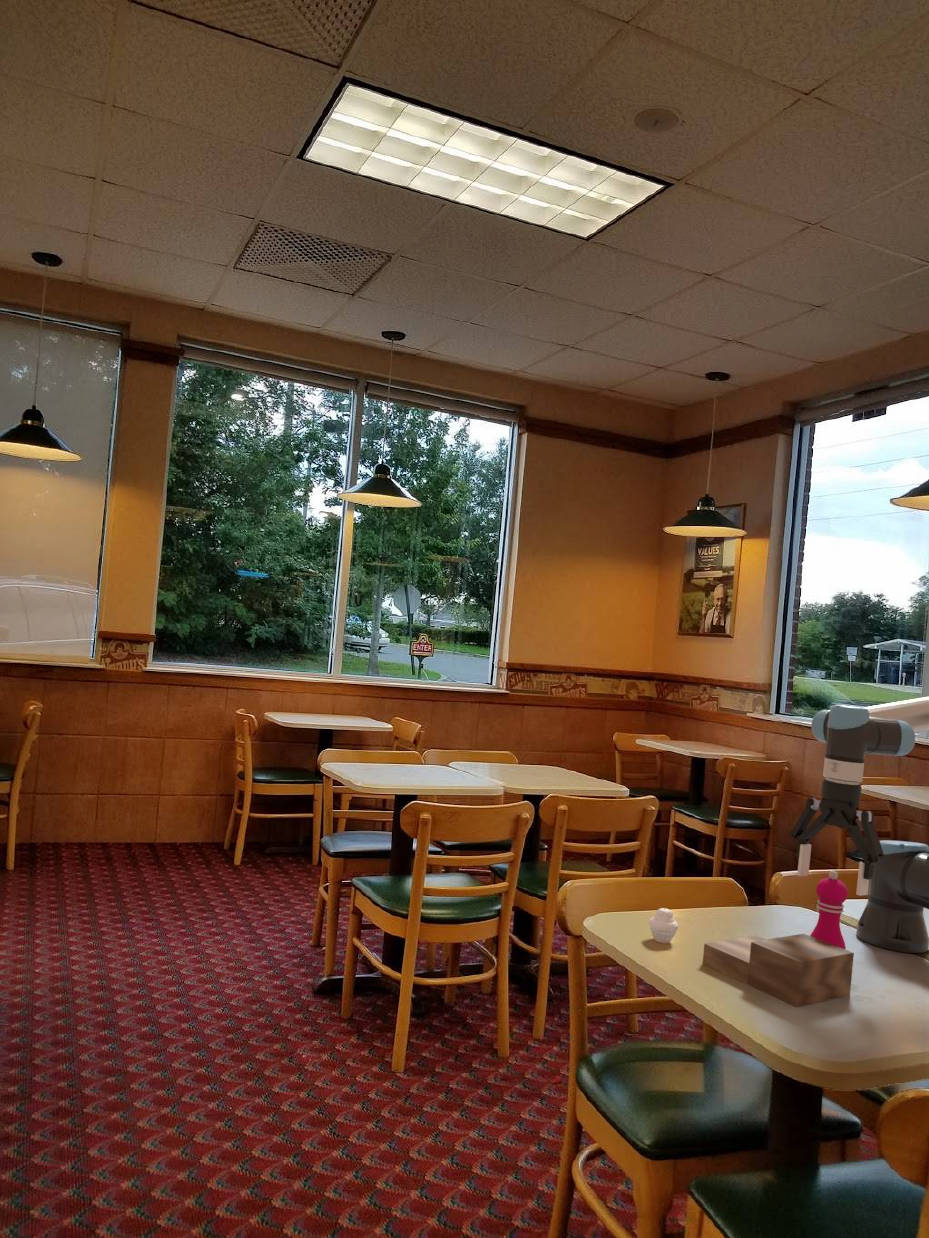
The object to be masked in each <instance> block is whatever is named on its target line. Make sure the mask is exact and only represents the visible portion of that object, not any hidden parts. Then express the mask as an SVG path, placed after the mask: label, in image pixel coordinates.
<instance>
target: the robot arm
mask: <svg viewBox="0 0 929 1238" xmlns="http://www.w3.org/2000/svg"><path fill="white" fill-rule="evenodd" d="M810 726H811V728H810V729H811V733H812V736H813V737H814V738H815V739H816V740H817V741H818V742H820V743H825V753H824V762H823V763H824V764H823V769H822V771H823V772H822V776H823V777H824V779H823V780H822V781H821V789H820V796H821V799H820V800H819V798H817V797H809V798H807V800H806V803H805V806H804V807H805V808H804V809H803V811H802V813H801V814H800V815H799V818H798V819H797V821H796V823H795V824H794V826H793V828H792V829H791V831H790V832H789V837H790V838H791V839H793V840H794V841H796V843H797V845H796V846H797V847H796V859H798V865H797V873H796V874H797V875H796V876H797V877H807V876H809V872H810V871H809V870H810V864H811V853H812V844H810V841H811V840H813V838H814V837H816V835H817V834H818V833H820V832H821V831H822V830H823V829H824V828H825V827H826V826H827V825H829V826H835V827H837V828H839V829H844V830H845V832H847V833H848V835H849V837H850V839H851V840H852V842H853V843H854V845H855V848H856V849H857V851H858V853H859V855H860V857H861V858H862V861H859V862H858V875H857V883H856V893H855V894H856V895H857V896H867V901H866V905H865V907H864V910H862V913H861V916H860V918H859V920H858V921H857V925H856V933H855V934H856V936H857V937H858V938H859V939H860V940H862V941H864V942H866V943H868V944H871V945H872V946H875V947H879V948H883V949H885V950H890V951H895V952H902V953H911V954H921V953H923V954H924V953H926V951H927V950H928V948H929V934H928V933H929V932H928V928H927V924H926V921H925V917H924V916H925V915H924V909H927V910H929V845H928V844H925V843H922V842H921V843H920V842H914V841H904V840H889V839H888V840H886V839H885V840H880V839H879V834H878V832H877V829H876V828H877V827H876V825H875V823H874V822H875V818H874V816H875V815H874V812H873V811H872V810H868V811H867V810H860V809H859V806H860V805H859V804H861V803H860V802H861V796H862V786H861V784H860V783H862V782H863V781H864V780H863V779H864V767H865V759H866V754H868V755H878V756H880V755H881V756H889V757H892V758H894V757H897V756H898V757H902V756H906V755H908V754H909V753H910V752H912V750H913V749H914V747H915V744H916V743H915V742H916V734H915V733H921V732H926V731H929V696H925V697H924V696H923V697H919V698H912V699H907V700H900V701H896V702H895V701H894V702H888V703H883V704H877V705H872V706H865V707H861V706H853V705H852V706H851V705H843V704H834V705H832V706H831V707H830V709H821V710H819V711H818V712H816V714H815V715H814V716H813V718H812V721H811V725H810ZM817 810H820V812H821V813H820V814H819V816H817V817H816V818H815V821H814V822H813V823H811V822H812V819H813V818H814V816H815V814H816V812H817ZM857 819H858V821H860V823H861V826H860V824H859V823H858V821H857ZM810 823H811V824H810ZM861 827H862V830H863V832H862V831H861ZM863 833H864V834H863ZM928 951H929V950H928ZM928 951H927V952H928Z"/></svg>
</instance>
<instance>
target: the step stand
mask: <svg viewBox="0 0 929 1238" xmlns="http://www.w3.org/2000/svg"><path fill="white" fill-rule="evenodd" d="M854 955H855V952H853V951H850V950H847V949H846V950H845V949H843V948H840V947H837V946H835V945H832V944H830V943H827V942H824V941H822V940H819V939H816V938H814V937H811V936H810V935H808V934H805V933H800V934H791V935H786V936H781V937H774V938H767V939H766V938H765V937H761V936H759V935H751V936H744V937H739V938H731V939H726V940H724V939H723V940H717V941H712V942H706V943H703V954H702V956H703V957H702V964H703V965H705V966H707V967H709V968H711V969H714V970H715V971H717V972H720V973H722V974H724V975H727V976H729V977H731V978H733V979H735V980H737V981H739V982H741V983H744V984H746V985H748V986H750V987H752V988H755V989H757V990H759V991H761V992H763V993H765V994H767V995H770V996H772V997H774V998H776V999H779V1000H780V1001H782V1002H785V1003H787V1004H790V1005H791V1006H793V1007H795V1008H799V1007H803V1006H808V1005H813V1004H817V1003H821V1002H822V1003H823V1002H827V1001H830V1000H834V999H839V998H844V997H849V996H851V989H852V988H851V986H852V976H853V968H854V967H853V965H854V957H855V956H854Z"/></svg>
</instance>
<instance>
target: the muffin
mask: <svg viewBox="0 0 929 1238" xmlns="http://www.w3.org/2000/svg"><path fill="white" fill-rule="evenodd" d="M648 925H649V930H650V932H651V935H652V937H653V940H654V941H655V940H656V941H655V942H657V941H658V942H657V943H660V942H662V943H661V944H670V943H671V941H672V940H673V938H674V937H675V935H676V934H677V931H678V929H679V924H678V922H677V920H675V917H674V913H673V912H672V911H671V909H668V908H666V907H664V908H663V907H661V908H658V909H657V910H656V912H655V914H654V915H653V916H652V917H650V919H649V920H648Z"/></svg>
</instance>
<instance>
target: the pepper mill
mask: <svg viewBox="0 0 929 1238" xmlns="http://www.w3.org/2000/svg"><path fill="white" fill-rule="evenodd" d="M838 878H839V874H838V872H836V871H835V870H831V871H830V872H828V877H824V878H822V879H820V880H819V881H818V883H817V884H816V887H815V894H816V896H817V897H818V898H819V899H818V900H817V905H816V908H818V919H817V922H816V925H815V927H814V928H813V930H812V932H811V933H810V935H809V936H811V937H814V938H816V939H819V940H822V941H824V942H827V943H830V944H832V945H835V946H837V947H840V948H843V949H845V950H847V949H846V943H845V939H844V936H843V934H842V931H841V923H840V922H841V915H842V913H844V908H845V905H844V904H843V903H844V902H845V901H846V900H847V899H848V896H849V895H848V894H849V893H848V891H849V890H848V888H847V886H846V884H845V883H844V882H843V881H841V880H840V879H838Z"/></svg>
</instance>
